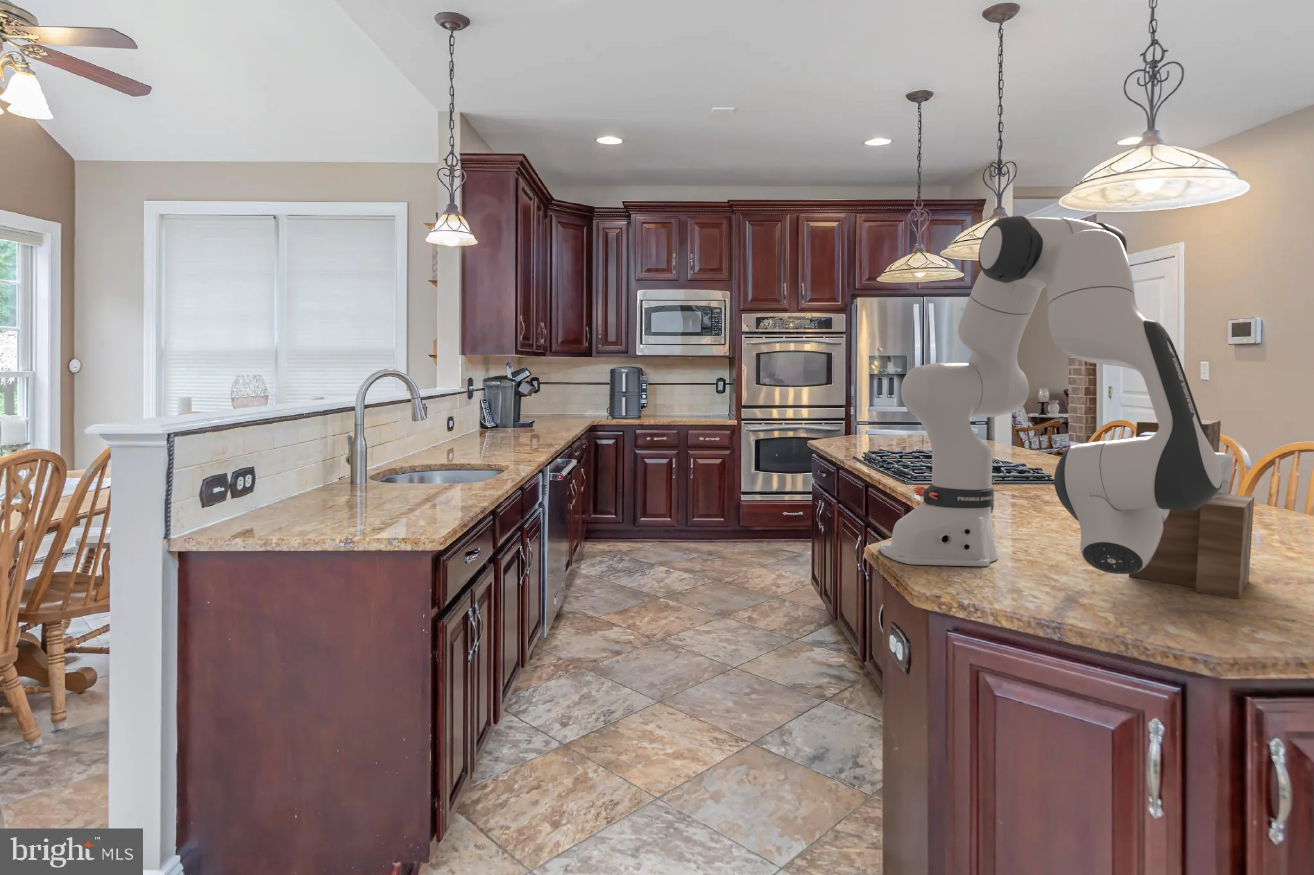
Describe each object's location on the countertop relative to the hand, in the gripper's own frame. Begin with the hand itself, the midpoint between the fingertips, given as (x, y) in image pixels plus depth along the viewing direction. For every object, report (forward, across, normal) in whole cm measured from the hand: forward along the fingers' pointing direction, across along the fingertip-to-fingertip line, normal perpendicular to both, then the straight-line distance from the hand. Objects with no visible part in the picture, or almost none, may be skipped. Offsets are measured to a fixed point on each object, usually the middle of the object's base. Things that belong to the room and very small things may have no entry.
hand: (1156, 441), depth 111 cm
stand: (+2, -3, +31) cm, 31 cm away
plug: (+5, 0, +5) cm, 7 cm away
